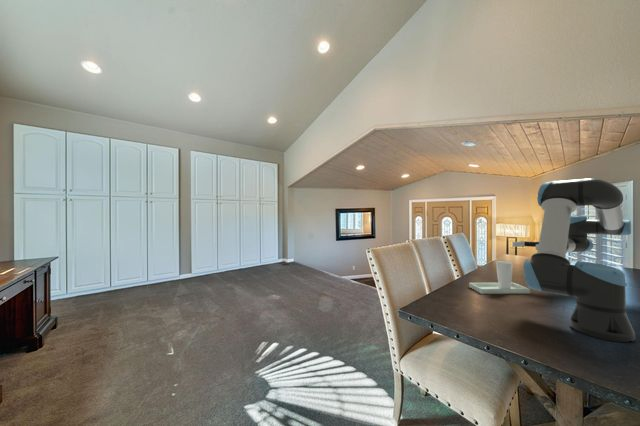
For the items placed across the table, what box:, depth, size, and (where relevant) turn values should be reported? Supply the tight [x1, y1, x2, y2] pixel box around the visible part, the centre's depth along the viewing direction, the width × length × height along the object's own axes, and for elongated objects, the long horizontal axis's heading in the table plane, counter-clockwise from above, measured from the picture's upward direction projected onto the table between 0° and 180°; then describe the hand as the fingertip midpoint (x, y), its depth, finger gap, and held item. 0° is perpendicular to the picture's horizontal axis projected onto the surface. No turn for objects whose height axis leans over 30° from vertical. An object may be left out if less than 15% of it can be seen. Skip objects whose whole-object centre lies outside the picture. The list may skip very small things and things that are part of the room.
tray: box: [468, 281, 531, 295], centre depth 134 cm, size 24×12×2 cm, turn 88°
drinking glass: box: [495, 260, 513, 289], centre depth 132 cm, size 7×7×15 cm
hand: (524, 245), depth 132 cm, fingers open, 13 cm apart
